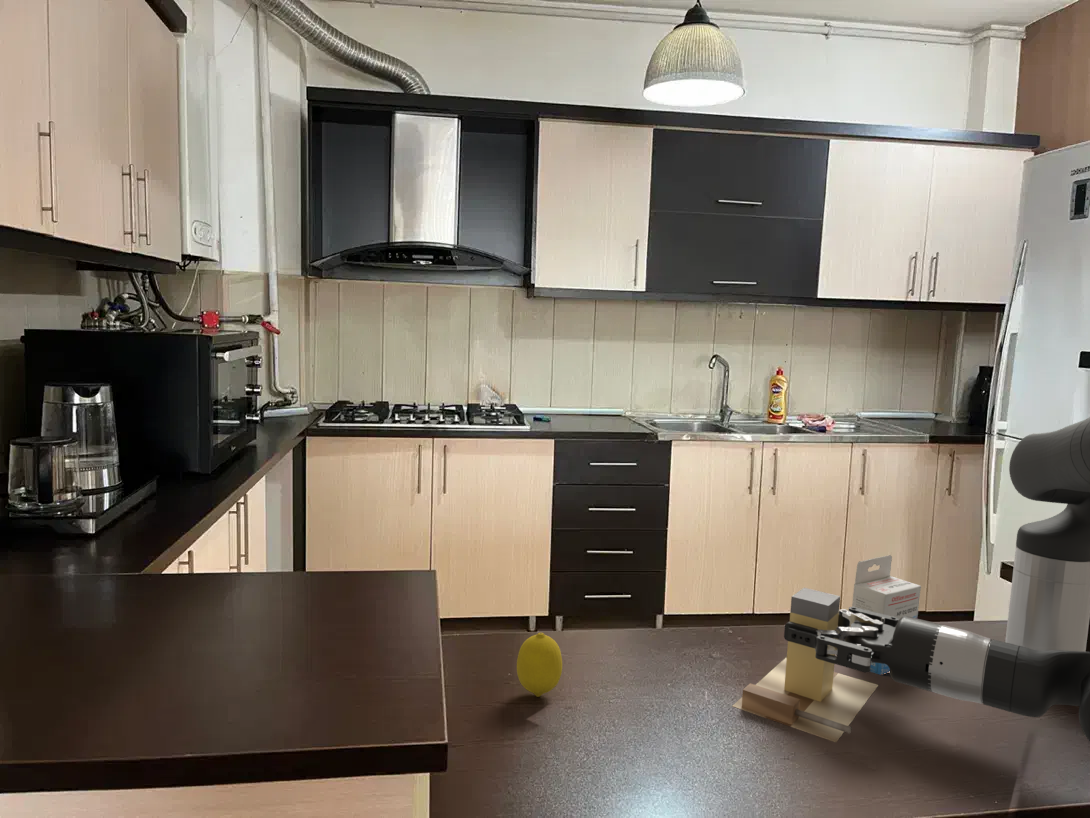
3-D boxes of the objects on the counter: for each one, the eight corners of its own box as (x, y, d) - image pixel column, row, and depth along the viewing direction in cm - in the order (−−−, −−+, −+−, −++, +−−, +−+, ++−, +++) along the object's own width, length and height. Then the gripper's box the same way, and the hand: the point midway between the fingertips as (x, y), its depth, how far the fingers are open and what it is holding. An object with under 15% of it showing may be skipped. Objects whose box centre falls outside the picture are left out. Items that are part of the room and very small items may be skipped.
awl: (748, 700, 92) (750, 683, 92) (852, 735, 85) (854, 717, 85) (741, 707, 90) (742, 689, 90) (846, 743, 83) (848, 724, 83)
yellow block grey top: (796, 677, 99) (804, 587, 98) (832, 688, 96) (840, 596, 95) (784, 689, 95) (791, 596, 94) (820, 701, 93) (828, 605, 91)
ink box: (878, 679, 102) (888, 571, 101) (845, 664, 107) (854, 561, 105) (914, 666, 107) (924, 563, 106) (881, 652, 111) (890, 553, 110)
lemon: (567, 692, 95) (570, 629, 94) (549, 711, 90) (552, 646, 89) (527, 681, 97) (530, 620, 96) (507, 700, 92) (509, 636, 91)
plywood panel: (785, 666, 105) (785, 657, 105) (877, 693, 98) (878, 685, 98) (731, 715, 91) (732, 705, 91) (835, 752, 84) (836, 742, 84)
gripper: (955, 609, 92) (817, 578, 102) (931, 646, 80) (778, 607, 90) (949, 670, 93) (812, 633, 102) (924, 714, 81) (773, 668, 91)
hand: (796, 621), depth 96 cm, fingers open, 7 cm apart
